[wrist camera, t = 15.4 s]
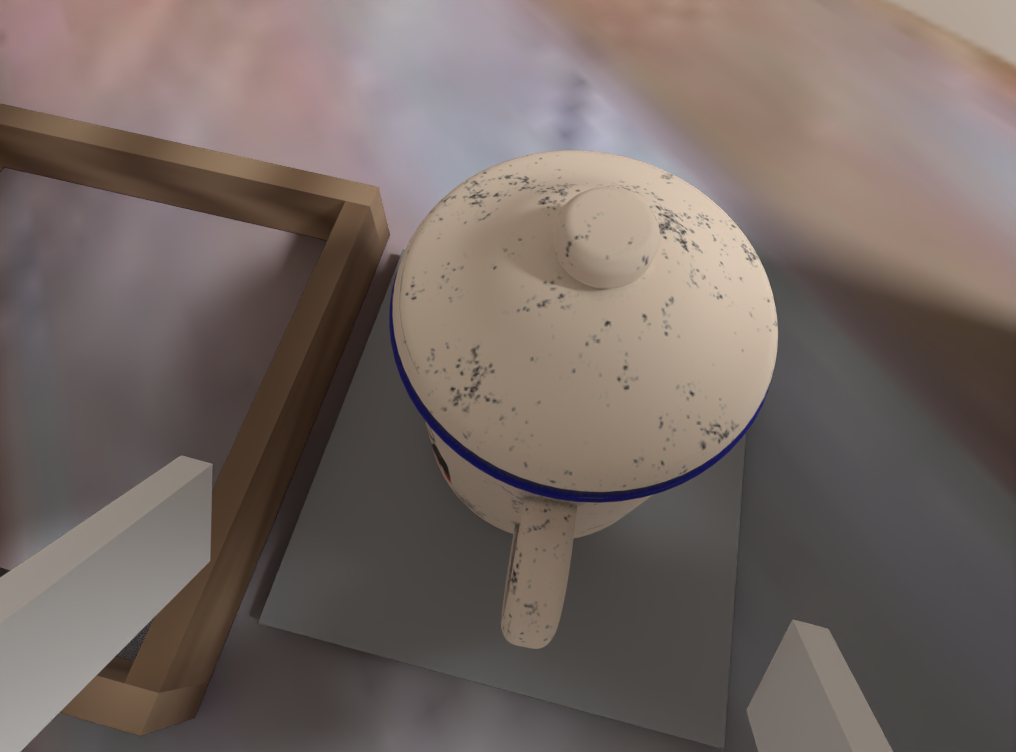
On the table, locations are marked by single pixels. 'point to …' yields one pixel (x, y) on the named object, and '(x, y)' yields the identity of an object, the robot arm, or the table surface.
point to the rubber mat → (483, 571)
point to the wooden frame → (280, 399)
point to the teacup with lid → (577, 351)
